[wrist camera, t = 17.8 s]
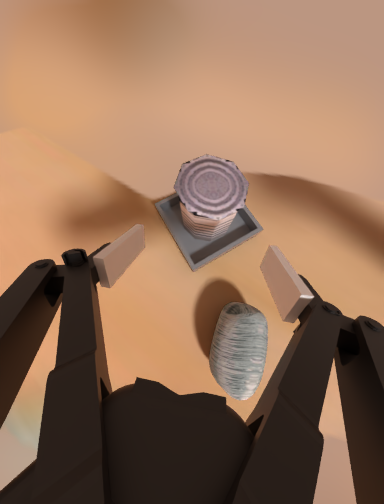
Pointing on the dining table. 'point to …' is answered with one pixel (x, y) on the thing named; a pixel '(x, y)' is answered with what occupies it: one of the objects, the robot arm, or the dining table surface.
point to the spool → (239, 349)
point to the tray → (204, 251)
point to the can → (210, 196)
